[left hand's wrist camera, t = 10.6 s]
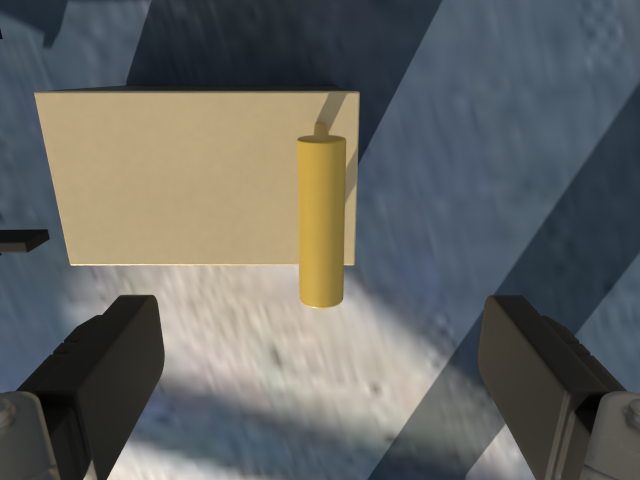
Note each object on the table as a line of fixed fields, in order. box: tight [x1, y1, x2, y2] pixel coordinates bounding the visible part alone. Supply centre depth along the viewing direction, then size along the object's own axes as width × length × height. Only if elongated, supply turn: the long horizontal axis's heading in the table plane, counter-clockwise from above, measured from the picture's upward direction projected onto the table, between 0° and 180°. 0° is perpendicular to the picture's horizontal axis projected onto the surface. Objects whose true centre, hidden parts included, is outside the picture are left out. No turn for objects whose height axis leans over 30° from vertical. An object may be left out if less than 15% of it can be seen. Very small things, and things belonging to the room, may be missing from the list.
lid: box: [34, 91, 360, 309], centre depth 22 cm, size 17×10×9 cm, turn 90°
